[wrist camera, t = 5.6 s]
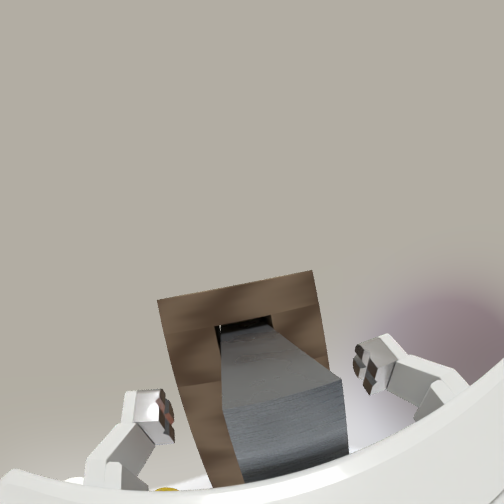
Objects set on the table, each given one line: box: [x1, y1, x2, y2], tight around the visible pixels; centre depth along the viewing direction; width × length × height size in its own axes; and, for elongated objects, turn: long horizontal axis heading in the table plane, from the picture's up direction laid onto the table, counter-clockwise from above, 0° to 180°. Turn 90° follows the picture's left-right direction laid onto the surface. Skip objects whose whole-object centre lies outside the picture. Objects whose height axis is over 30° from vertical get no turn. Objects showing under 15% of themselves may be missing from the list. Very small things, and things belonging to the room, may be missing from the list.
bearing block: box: [157, 270, 330, 488], centre depth 21 cm, size 14×14×30 cm
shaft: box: [221, 317, 349, 484], centre depth 18 cm, size 3×24×3 cm, turn 7°
